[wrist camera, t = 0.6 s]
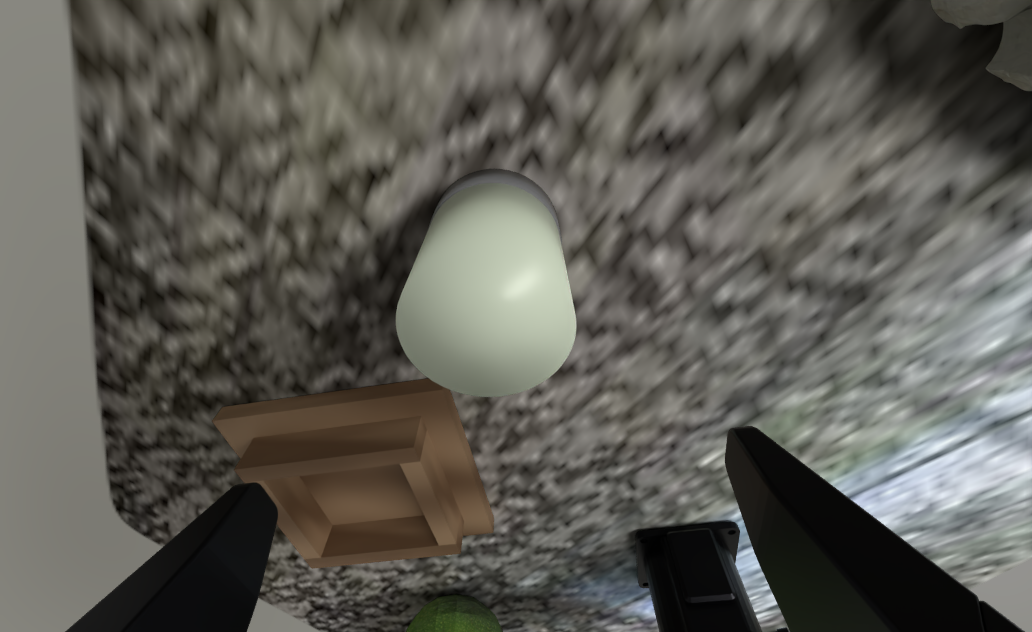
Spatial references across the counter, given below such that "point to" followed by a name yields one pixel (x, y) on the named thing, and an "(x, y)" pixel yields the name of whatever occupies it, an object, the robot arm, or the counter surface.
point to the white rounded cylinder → (489, 289)
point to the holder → (363, 471)
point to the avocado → (455, 616)
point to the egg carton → (1025, 41)
